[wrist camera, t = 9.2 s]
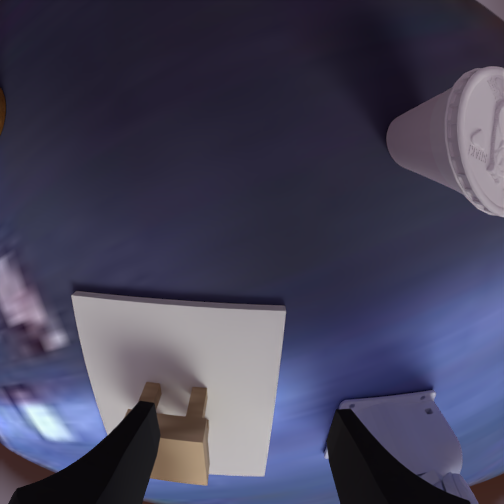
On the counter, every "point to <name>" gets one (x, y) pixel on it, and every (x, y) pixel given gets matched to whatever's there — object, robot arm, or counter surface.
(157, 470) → the stool
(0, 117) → the disposable coffee cup
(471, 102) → the smoothie
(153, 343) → the cutting board
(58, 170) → the counter surface
